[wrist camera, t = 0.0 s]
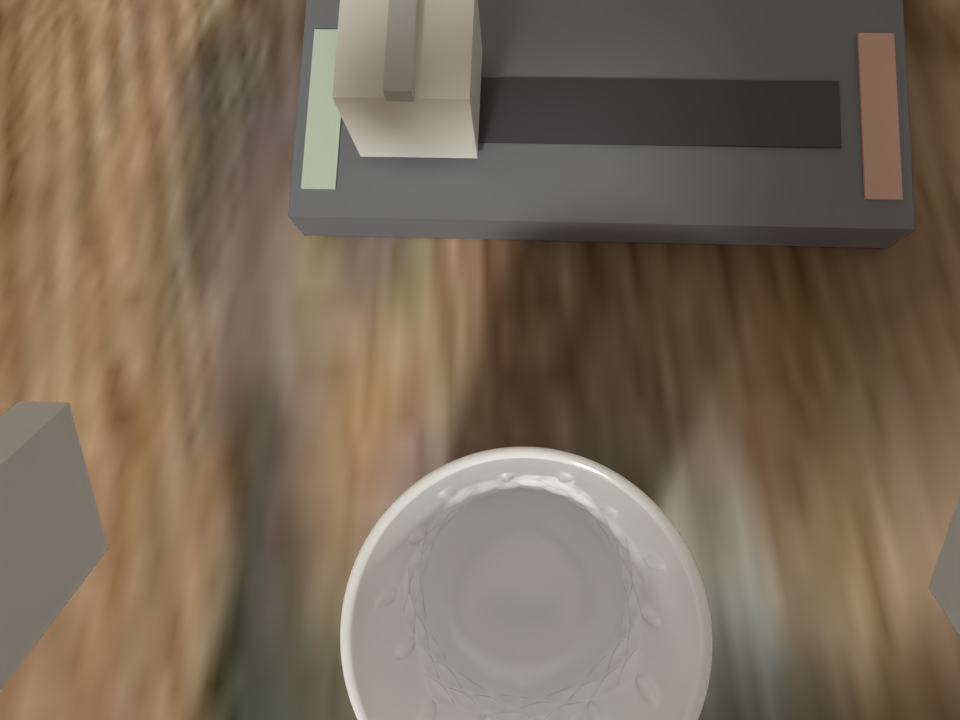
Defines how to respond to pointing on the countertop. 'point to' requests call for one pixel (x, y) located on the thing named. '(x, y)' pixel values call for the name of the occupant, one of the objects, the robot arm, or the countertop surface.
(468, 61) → the block
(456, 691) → the white cup
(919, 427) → the countertop surface
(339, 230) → the switch panel
